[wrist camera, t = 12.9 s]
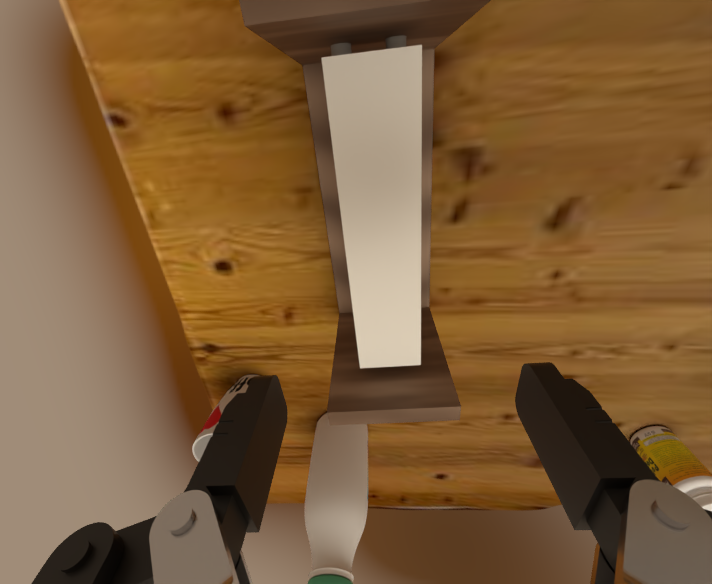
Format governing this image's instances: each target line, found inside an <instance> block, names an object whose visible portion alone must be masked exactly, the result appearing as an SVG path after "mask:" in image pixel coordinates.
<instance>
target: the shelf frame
mask: <svg viewBox="0 0 712 584" xmlns="http://www.w3.org/2000/svg"><path fill="white" fill-rule="evenodd" d="M239 1H240V6H241V11H242V15H243V20H244V25H245V26H246V27H247V28H249V29H250V30H252V31H253V32H255V33H256V34H258V35H259V36H260V37H262V38H263V39H265V40H266V41H268V42H269V43H271V44H272V45H274V46H275V47H277V48H278V49H280V50H281V51H283V52H284V53H285V54H287V55H288V56H290V57H291V58H293V59H294V60H296V61H297V62H299V63H300V64H302V65H303V72H304V78H305V85H306V92H307V99H308V105H309V112H310V119H311V125H312V132H313V139H314V146H315V152H316V159H317V166H318V172H319V179H320V186H321V192H322V199H323V206H324V213H325V219H326V226H327V233H328V239H329V246H330V253H331V260H332V266H333V273H334V280H335V286H336V293H337V300H338V306H339V321H338V329H337V337H336V345H335V353H334V361H333V369H332V377H331V385H330V393H329V401H328V409H327V415H328V420H329V424H330V425H353V424H377V423H400V422H424V421H447V420H460V411H461V405H460V402H459V399H458V396H457V393H456V390H455V386H454V383H453V380H452V377H451V374H450V371H449V368H448V365H447V361H446V358H445V355H444V352H443V349H442V346H441V343H440V340H439V336H438V333H437V330H436V327H435V324H434V321H433V318H432V315H431V311H430V308H429V290H430V240H431V190H432V140H433V90H434V48H436V47H437V46H438V45H439V44H440V43H441V42H443V41H444V40H445V39H446V38H447V37H448V36H450V35H451V34H452V33H453V32H454V31H455V30H457V29H458V28H459V27H460V26H461V25H462V24H464V23H465V22H466V21H467V20H468V19H469V18H471V17H472V16H473V15H474V14H475V13H476V12H478V11H479V10H480V9H481V8H482V7H483V6H485V5H486V4H487V3H488V2H489V1H490V0H239ZM416 45H422V174H421V365H412V366H394V367H376V368H360V364H359V356H358V348H357V340H356V332H355V324H354V316H353V308H352V300H351V292H350V284H349V276H348V268H347V260H346V252H345V244H344V236H343V228H342V220H341V212H340V204H339V196H338V188H337V180H336V172H335V163H334V155H333V147H332V139H331V131H330V123H329V115H328V107H327V99H326V91H325V83H324V75H323V67H322V59H321V58H322V57H329V56H337V55H345V54H353V53H361V52H369V51H377V50H384V49H392V48H400V47H408V46H416Z"/></svg>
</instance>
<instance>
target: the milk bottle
mask: <svg viewBox="0 0 712 584" xmlns="http://www.w3.org/2000/svg"><path fill="white" fill-rule="evenodd" d="M367 509H368V427H367V424H353V425H330V424H329V420H328V415H327V413H326V414H324V415H323V416H322V417H321V418H320V419H319V421H318V422H317V426H316V431H315V437H314V443H313V450H312V456H311V463H310V469H309V476H308V483H307V491H306V499H305V524H306V529H307V533H308V538H309V542H310V547H311V554H312V571H311V572H310V573H309V581H308V584H353V579H354V577H353V575H352V574H351V568H352V562H353V558H354V554H355V551H356V548H357V545H358V543H359V540H360V538H361V535H362V533H363V530H364V526H365V522H366V518H367Z"/></svg>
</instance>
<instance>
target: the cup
mask: <svg viewBox="0 0 712 584" xmlns="http://www.w3.org/2000/svg"><path fill="white" fill-rule="evenodd" d="M254 376H260V375H254V374H251V375H245V376H243V377H241V378H240V379H239V380H238V381H237V382H236V383H235V384H234V385H233V386H232V387H231V388H230V389H229V390H228V391H227V392H226V394H225V395H224V397H223V398H222V399H221V401H220V402H219V403H218V405H217V406H216V407H215V409H214V410H213V411H212V413H211V415H210V416H209V418H208V420H207V422H206V423H205V425H204V427H203V429H202V430H201V432H200V434H199V435H198V437H197V439H196V441H195V442H194V444H193V449H192V451H193V454H194V456H195V458H196V459H197V461H198V462H199V461H200V459H201V457H202V455H203V453H204V450H205V448H206V446H207V444H208V442H209V440H210V438H211V437H212V436H213V431H214V429H215V427H216V425H217V424H218V423H219V419H220V417H221V415H222V412H223V410H224V408H225V406H226V405H227V404H228V403H229V402H230V401H231V400H232V399H233V398H234V396H235V395H236V394H237V393H246V390H247V388H248V386H249V383H250V381H251V379H252V378H253V377H254Z"/></svg>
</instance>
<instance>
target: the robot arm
mask: <svg viewBox="0 0 712 584" xmlns="http://www.w3.org/2000/svg"><path fill="white" fill-rule="evenodd" d="M515 402H516V409H517V412H518V415H519V418H520V420H521V422H522V424H523V426H524V428H525V430H526V432H527V434H528V436H529V438H530V440H531V442H532V444H533V446H534V448H535V450H536V452H537V454H538V456H539V458H540V460H541V463H542V465H543V467H544V469H545V471H546V473H547V475H548V477H549V479H550V481H551V483H552V485H553V487H554V489H555V491H556V493H557V495H558V497H559V499H560V501H561V503H562V505H563V507H564V509H565V511H566V513H567V516H568V517H569V520H570V522H571V524H572V526H573V528H574V530H592V532H593V534H594V536H595V538H596V540H597V542H598V543H597V545H596V548H595V555H594V561H593V568H592V576H591V581H590V584H712V511H709V510H706V509H703V508H702V507H701V506H700V505H699V504H698V503H697V502H696V501H695V500H693V499H692V498H691V497H690V496H688V495H687V494H685V493H684V492H682V491H680V490H679V489H677V488H675V487H673V486H671V485H669V484H666V483H663V482H661V481H660V480H659V479H658V478H657V477H656V476H655V474H654V473H653V472H652V471H651V469H650V468H649V467H648V466H647V464H646V463H645V462H644V460H643V459H642V458H641V457H640V455H639V454H638V453H637V451H636V450H635V449H634V448H633V446H632V445H631V444H630V443H629V441H628V440H627V439H626V437H625V436H624V435H623V434H622V432H621V431H620V430H619V428H618V427H617V426H616V425H615V423H612V419H611V418H610V417H609V416H608V414H607V413H606V412H605V411H604V410H602V407H601V405H600V404H599V403H598V402H597V400H596V399H595V398H594V396H593V395H592V394H591V393H590V391H588V390H587V389H586V388H584V387H583V386H581V385H580V384H579V383H577V382H576V381H575V380H573V379H564V378H563V376H562V375H561V374H560V372H559V371H558V369H557V368H556V367H555V366H554V365H553V364H552V363H550V362H548V363H528V364H524V365H523V366H522V370H521V374H520V379H519V383H518V388H517V392H516V398H515ZM286 423H287V406H286V402H285V399H284V395H283V392H282V389H281V386H280V382H279V379H278V377H277V376H276V375H272V376H254V377H253V378H252V379H251V381H250V383H249V386H248V388H247V390H246V393H237V394H236V395H235V396H234V398H233V399H232V400H231V401H230V402H229V403H228V404H227V405H226V406H225V408H224V410H223V412H222V415H221V417H220V419H219V423H218V424H217V425H216V427H215V429H214V431H213V436H212V437H211V438H210V440H209V442H208V444H207V446H206V448H205V450H204V453H203V455H202V457H201V459H200V461H199V463H198V465H197V467H196V469H195V472H194V474H193V476H192V478H191V480H190V482H189V484H188V486H187V488H186V490H185V491H184V493H182V494H180V495H178V496H176V497H175V498H173V499H172V500H171V501H169V502H168V503H167V504H166V505H165V506H164V507H163V508H162V510H161V511H160V512H159V514H158V515H157V516H155V517H153V518H151V519H148V520H145V521H143V522H140V523H137V524H134V525H132V526H129V527H126V528H124V529H121V530H118V531H115V530H114V529H113V528H112V527H111V526H109V525H108V524H106V523H100V522H98V523H93V524H90V525H87V526H85V527H83V528H81V529H79V530H77V531H76V532H74V533H73V534H72V535H70V536H69V537H68V538H67V539H65V540H64V541H63V542H62V543H61V544H60V545H59V546H58V547H57V548H56V549H55V550H54V552H53V553H52V554H51V555H50V557H49V558H48V560H47V561H46V563H45V564H44V566H43V567H42V569H41V570H40V572H39V573H38V575H37V576H36V578H35V579H34V581H33V582H32V584H253V583H252V580H251V577H250V574H249V571H248V568H247V565H246V562H245V559H244V556H243V553H242V551H241V548H242V544H243V541H244V537H245V534H246V532H259V530H260V526H261V522H262V518H263V514H264V510H265V506H266V502H267V498H268V495H269V491H270V487H271V483H272V479H273V475H274V471H275V467H276V463H277V459H278V455H279V451H280V447H281V443H282V440H283V436H284V432H285V428H286Z"/></svg>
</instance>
